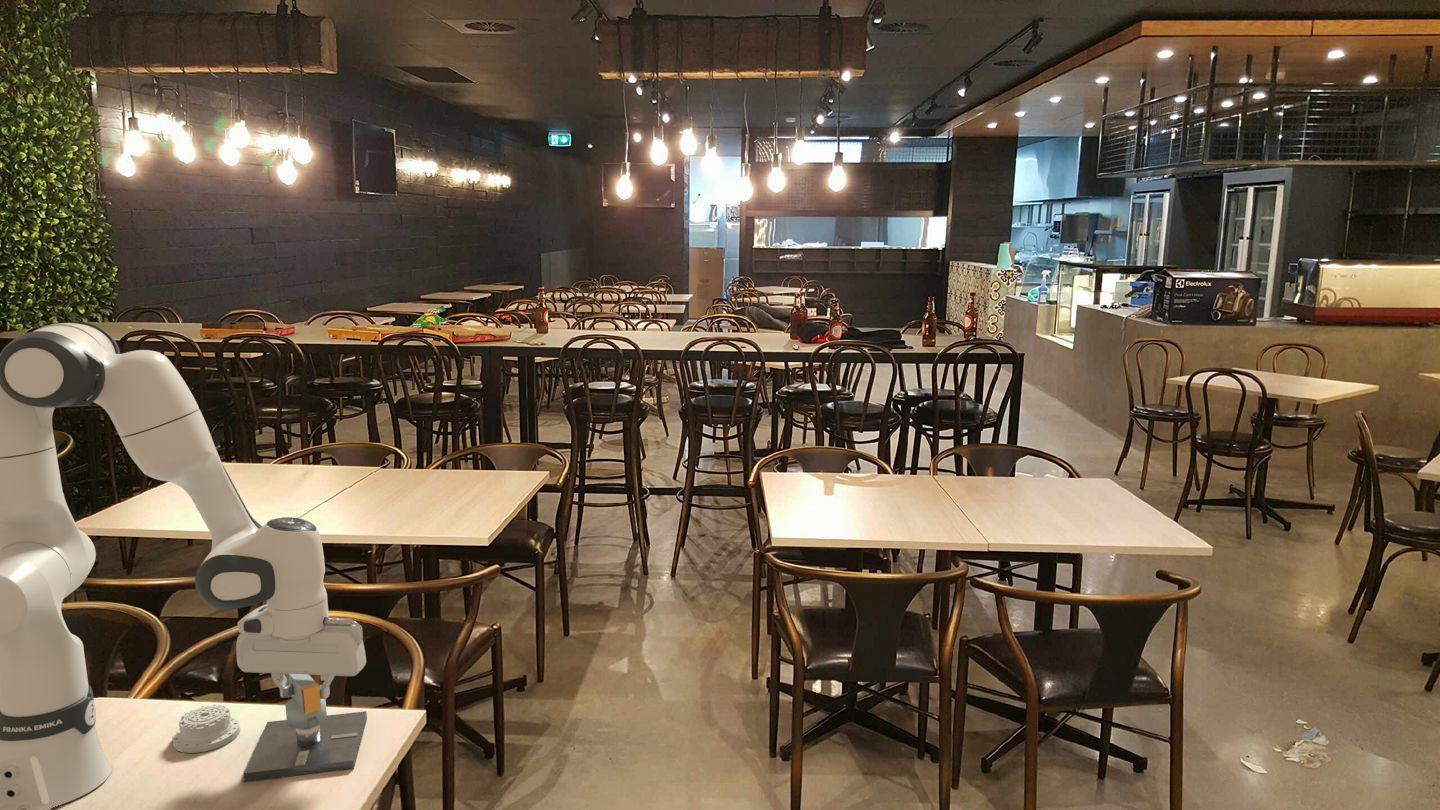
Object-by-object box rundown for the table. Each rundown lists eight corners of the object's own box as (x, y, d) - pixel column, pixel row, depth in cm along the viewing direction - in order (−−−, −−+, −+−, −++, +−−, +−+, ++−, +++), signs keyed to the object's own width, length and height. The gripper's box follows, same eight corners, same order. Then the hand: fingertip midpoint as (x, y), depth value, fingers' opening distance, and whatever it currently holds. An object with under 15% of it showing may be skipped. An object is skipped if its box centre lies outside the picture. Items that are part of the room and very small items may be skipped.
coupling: (280, 715, 154) (277, 675, 153) (318, 704, 158) (314, 665, 157) (295, 735, 148) (291, 693, 147) (334, 722, 152) (330, 682, 151)
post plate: (244, 782, 145) (241, 752, 144) (268, 729, 160) (265, 702, 159) (353, 769, 148) (351, 740, 147) (366, 719, 164) (365, 692, 163)
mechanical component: (158, 751, 154) (211, 757, 152) (155, 726, 153) (209, 732, 151) (202, 720, 163) (253, 726, 161) (200, 697, 162) (250, 703, 161)
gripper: (370, 611, 152) (375, 690, 155) (250, 607, 154) (257, 685, 156) (352, 627, 146) (357, 708, 149) (227, 622, 148) (235, 703, 150)
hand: (305, 696), depth 152 cm, fingers closed on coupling, 5 cm apart
